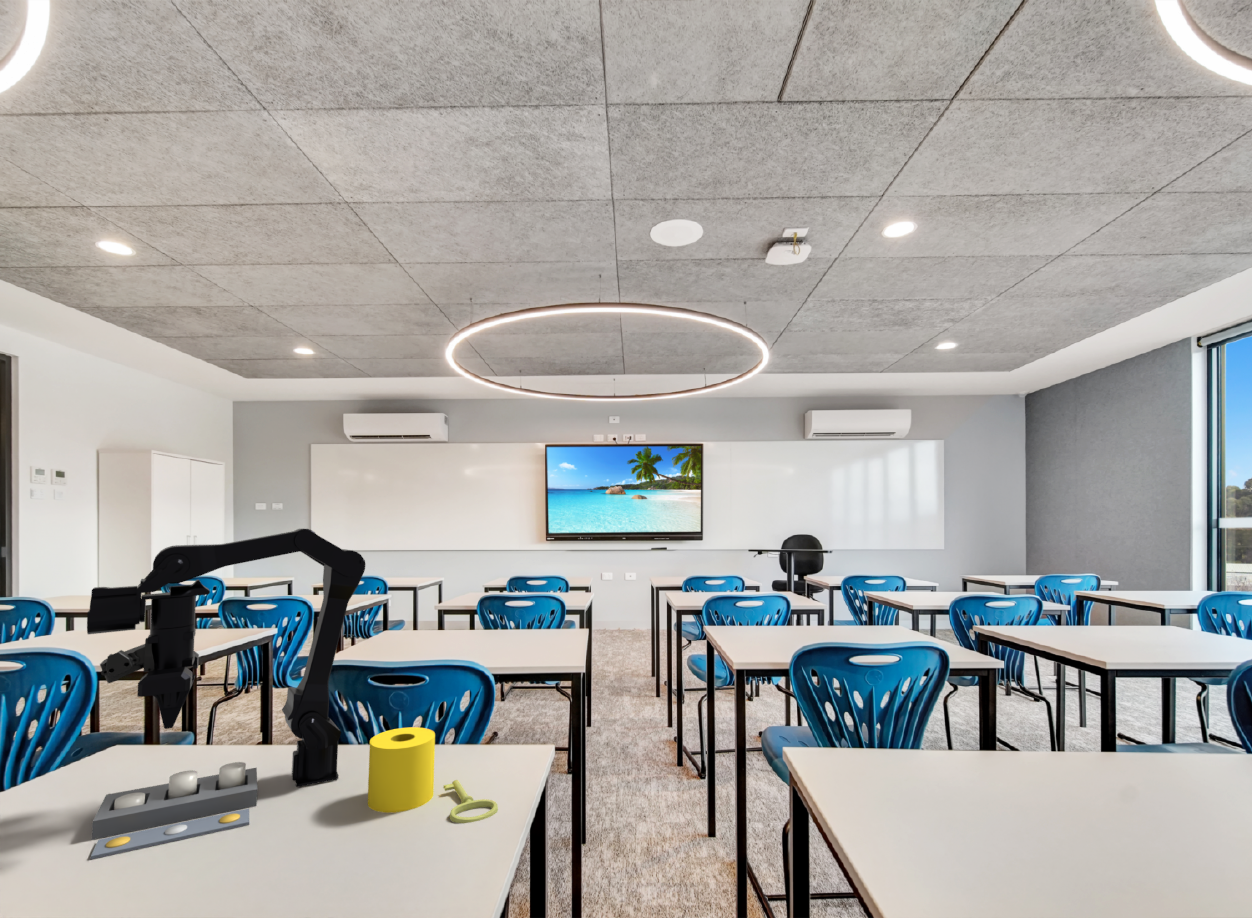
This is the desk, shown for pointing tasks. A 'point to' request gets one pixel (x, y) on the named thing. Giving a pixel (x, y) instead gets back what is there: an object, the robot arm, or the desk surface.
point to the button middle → (182, 784)
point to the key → (469, 805)
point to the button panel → (173, 805)
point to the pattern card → (170, 833)
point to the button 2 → (232, 775)
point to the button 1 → (129, 800)
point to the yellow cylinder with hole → (401, 769)
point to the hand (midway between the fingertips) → (168, 727)
